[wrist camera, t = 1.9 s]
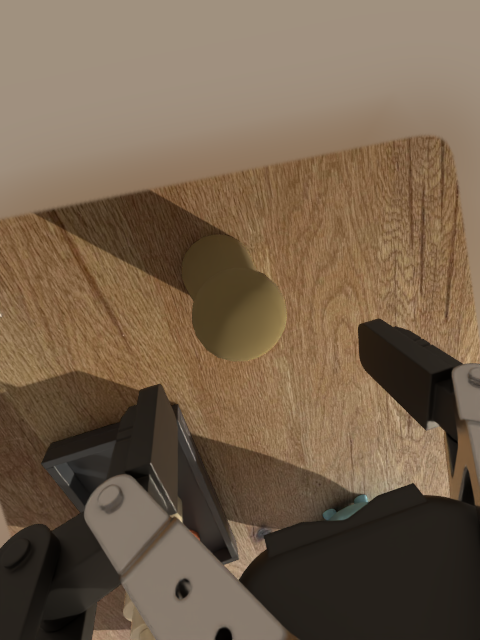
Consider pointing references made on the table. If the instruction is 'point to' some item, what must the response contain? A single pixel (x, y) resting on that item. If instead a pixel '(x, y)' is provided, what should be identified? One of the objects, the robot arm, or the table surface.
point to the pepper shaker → (232, 300)
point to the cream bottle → (139, 629)
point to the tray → (193, 481)
